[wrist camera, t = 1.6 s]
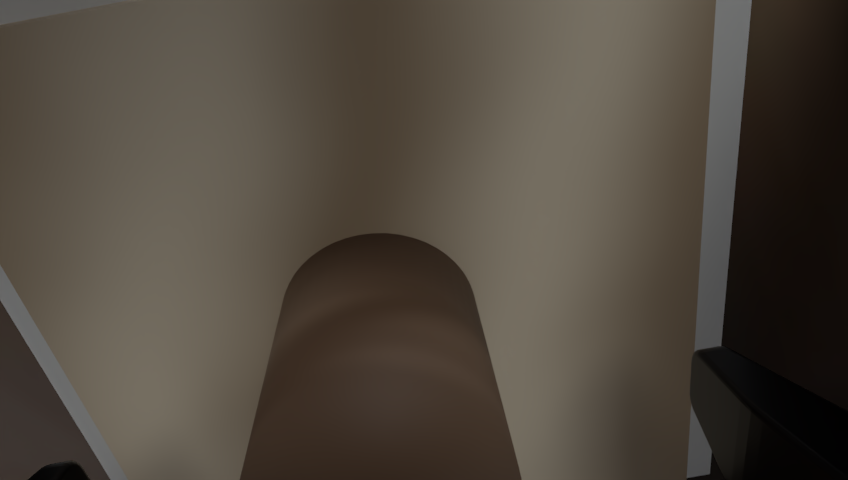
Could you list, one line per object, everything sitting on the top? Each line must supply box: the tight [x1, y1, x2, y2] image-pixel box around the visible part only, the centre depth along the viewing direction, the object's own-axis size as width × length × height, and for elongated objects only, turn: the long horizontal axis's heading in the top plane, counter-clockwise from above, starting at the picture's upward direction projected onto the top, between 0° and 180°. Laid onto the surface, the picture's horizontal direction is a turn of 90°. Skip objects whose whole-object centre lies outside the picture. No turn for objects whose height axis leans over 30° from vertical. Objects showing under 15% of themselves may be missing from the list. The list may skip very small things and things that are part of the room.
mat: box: [0, 0, 752, 480], centre depth 12 cm, size 14×14×1 cm
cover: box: [0, 0, 716, 480], centre depth 10 cm, size 12×12×5 cm
